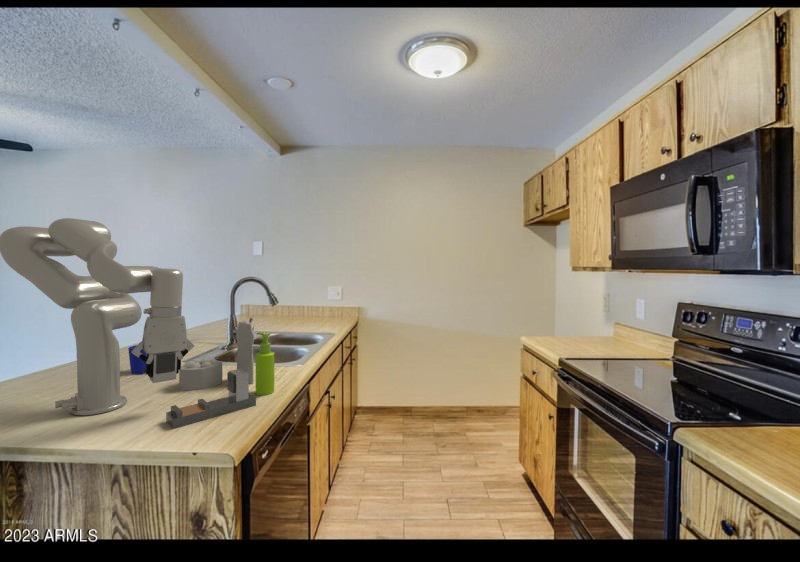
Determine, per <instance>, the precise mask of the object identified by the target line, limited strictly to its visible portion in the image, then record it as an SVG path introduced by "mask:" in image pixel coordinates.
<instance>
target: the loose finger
mask: <svg viewBox="0 0 800 562" xmlns="http://www.w3.org/2000/svg"><path fill="white" fill-rule="evenodd" d="M152 363H153V377H152V378H150V377H149V381H151V383H152V384H155V383H162V382H168V381H173V380H177V374H176V372H177V352H169V353H161V354H154V358H153V360H152Z"/></svg>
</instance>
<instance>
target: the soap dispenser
mask: <svg viewBox="0 0 800 562" xmlns="http://www.w3.org/2000/svg"><path fill="white" fill-rule="evenodd" d="M256 335H260V336H262V342H259V352H257V353H255V395H257V396H268V395H271V394H273V393H275V352H274V351H271V346H272V345H271V344H272V343H271V342H269V337H270V336H271V334H270V333H269V332H266V331H262V332H261V331H260V332H257V333H256Z"/></svg>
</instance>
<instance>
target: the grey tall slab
mask: <svg viewBox="0 0 800 562" xmlns="http://www.w3.org/2000/svg"><path fill="white" fill-rule="evenodd" d="M235 333H236V338H235V339H236V346H237V347H236V349H237V350H236V351H237V357H236V369H242V370H244V371H246V372H248V373H249V385H253V384H254V382H255V381H254V343H255V333H254V331H253V324H252V323H251V322H248V321H246V320H245V321H244V320H243V321H238V326H237V329H236V331H235Z"/></svg>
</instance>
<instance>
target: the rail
mask: <svg viewBox="0 0 800 562" xmlns="http://www.w3.org/2000/svg"><path fill="white" fill-rule="evenodd" d="M226 374H227V378H226V379H227V380H226V383H227V385H226V390H227V391H228V396H226V397H221V398H218V399H214V400H209V401H206V400H205V399H203V398H198V399H197V403H195V404H190V405H187V406H186V405H185V406H183V407H182V406H181V407H178V406H177V405H176V404H175V405H171V406H170V411H167V412H166V413H165V416H166V417H165V419H166V420H165V421H166V423H167V424H168V425H169V427H170V428H172V430H174V429H177V428H180V427H184V426H188V425H192V424H195V423H198V422H202V421H206V420H209V419H213V418H216V417H219V416H220V417H221V416H223V415H226V414H230V413H233V412H237V411H240V410H243V409H247V408H250V407H255V406H257V397H256V396H255V395H253V394H251V393H249V385H250V384H249V373H248V372H246V371H244V370H242V369H237V368H236V369H231V370H229V371H228V372H227V373H226Z"/></svg>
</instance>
